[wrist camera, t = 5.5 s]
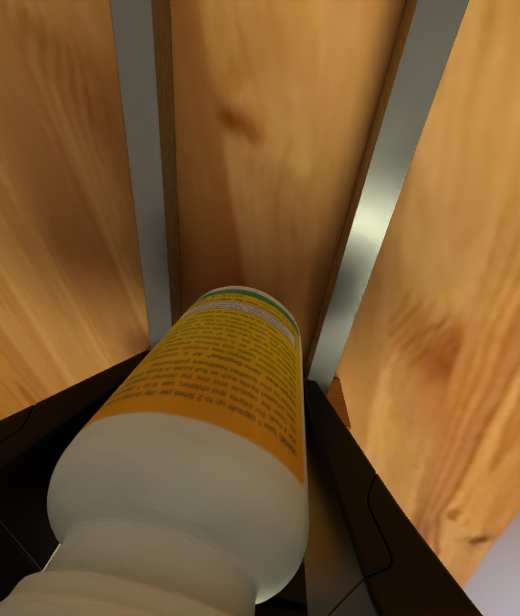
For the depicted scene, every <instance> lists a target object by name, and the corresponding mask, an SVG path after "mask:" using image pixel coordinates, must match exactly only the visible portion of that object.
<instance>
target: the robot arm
mask: <svg viewBox="0 0 520 616" xmlns="http://www.w3.org/2000/svg"><path fill="white" fill-rule="evenodd" d="M150 352H151V350H146V351H144V352H142V353H140V354H138V355H136V356H133V357H131V358H129V359H127V360H125V361H123V362H121V363H119V364H117V365H115V366H113V367H111V368H109V369H107V370H104V371H102V372H100V373H98V374H96V375H94V376H92V377H90V378H88V379H86V380H84V381H82V382H80V383H78V384H75V385H73V386H71V387H69V388H67V389H65V390H63V391H61V392H59V393H57V394H55V395H53V396H51V397H49V398H46V399H44V400H42V401H40V402H38V403H36V405H32V406H30V407H28V408H26V409H24V410H21V411H19V412H17V413H15V414H13V415H11V416H9V417H7V418H4V419H2V420H0V602H1V601H3V600H4V599H5V598H6V597H7V596H9V594H10V593H11V592H12V590H13V589H14V588H15V587H16V585H17V584H18V583H19V581H21V580H22V579H23V578H24V577H26V576H28V575H31V574H34V573H38V572H41V571H42V570H43V569H44V567H45V565H46V564H47V562H48V561H49V559H50V558H51V556H52V554H53V552H54V551H55V550H56V548H57V546H58V545H59V541H58V540H57V539H56V537H55V535H54V532H53V530H52V528H51V525H50V522H49V518H48V512H47V495H48V489H49V484H50V480H51V477H52V474H53V472H54V469H55V467H56V464H57V463H58V461H59V459H60V457H61V456H62V454H63V453H64V451H65V450H66V448H67V447H68V446H69V445H70V443H71V442H72V441H73V439H74V438H75V437H76V435H77V434H78V433H79V432H80V431H81V429H82V428H83V427H84V426H85V425H86V424H87V423H88V422H89V421H90V419H91V418H92V417H93V416H94V415H95V414H96V413H97V412H98V411H99V410H100V408H101V407H102V406H103V405H104V404H105V403H106V402H107V400H108V399H109V398H110V397H111V396H112V394H113V393H114V392H115V391H116V390H117V389H118V388H119V386H120V385H121V384H122V383H123V382H124V381H125V380H126V379H127V377H128V376H129V375H130V374H131V373H132V372H133V371H134V369H135V368H136V367H137V366H138V365H139V364H140V363H141V362H142V360H143V359H144V358H145V357H146V356H147V355H148V354H149V353H150ZM303 391H304V416H305V433H306V456H307V475H308V493H309V517H310V526H309V536H308V542H307V547H306V551H305V554H304V557H303V560H302V562H301V564H300V566H299V568H298V570H297V572H296V573H295V575H294V576H293V578H292V579H291V580H290V581H289V583H288V584H287V585H286V586H285V587H284V588H283V589H282V590H281V591H279V592H278V593H277V594H276V595H274V596H273V597H271V598H269V599H268V600H266V601H264V602H262V603H259V604H256V605H255V614H254V616H483V615H482V614H481V613H480V611H479V610H478V609H477V608H476V606H475V605H474V604H473V603H472V601H471V600H470V599H469V598H468V596H467V595H466V594H465V592H464V591H463V590H462V588H461V587H460V586H459V585H458V583H457V582H456V581H455V579H454V578H453V577H452V575H451V574H450V573H449V571H448V570H447V569H446V568H445V566H444V565H443V564H442V562H441V561H440V560H439V558H438V557H437V556H436V555H435V553H434V552H433V551H432V549H431V548H430V547H429V545H428V544H427V543H426V542H425V540H424V539H423V538H422V536H421V535H420V534H419V532H418V531H417V530H416V528H415V527H414V526H413V524H412V523H411V522H410V520H409V519H408V517H407V516H406V515H405V513H404V512H403V511H402V509H401V508H400V507H399V505H398V504H397V502H396V501H395V499H394V498H393V496H392V495H391V493H390V492H389V491H388V489H387V488H386V486H385V485H384V483H383V482H382V480H381V478H380V477H379V475H378V474H375V473H376V471H375V470H374V468H373V467H372V465H371V463H370V462H369V460H368V459H367V457H366V456H365V454H364V453H363V451H362V450H361V448H360V447H359V445H358V444H357V442H356V441H355V439H354V438H353V436H352V435H351V433H350V432H349V430H348V429H347V427H346V426H345V424H344V422H343V421H342V419H341V418H340V416H339V415H338V413H337V412H336V410H335V409H334V407H333V406H332V404H331V403H330V401H329V400H328V398H327V397H326V395H325V394H324V392H323V391H322V389H321V388H320V386H319V384H318V383H317V382H316V381H315V380H311V379H304V381H303Z"/></svg>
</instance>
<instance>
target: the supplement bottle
mask: <svg viewBox="0 0 520 616" xmlns="http://www.w3.org/2000/svg"><path fill="white" fill-rule="evenodd" d="M47 512H48V518H49V522H50V525H51V528H52V530H53V532H54V535H55V537H56V539H57V540H58V541H59V543H60V544H61V545H60V547H59V549H58V550H57V552H56V553H55V555H54V556H53V558H52V560H51V561H50V563H49V564H48V566H47V567H46V569H45V570H44V571H43V572H38V573H34V574H31V575H28V576H26V577H24V578H23V579H22V580H21V581H19V583H18V584H17V585H16V587H15V588H14V589H13V590H12V592H11V593H10V594H9V596H7V597H6V598H5V599H4V600H3V601H1V602H0V616H254V614H255V605H256V604H259V603H262V602H264V601H266V600H268V599H269V598H271V597H273V596H274V595H276V594H277V593H278V592H279V591H281V590H282V589H283V588H284V587H285V586H286V585H287V584H288V583H289V581H290V580H291V579H292V578H293V576H294V575H295V573H296V572H297V570H298V568H299V566H300V564H301V562H302V560H303V557H304V554H305V551H306V547H307V542H308V536H309V526H310V517H309V493H308V475H307V456H306V433H305V416H304V391H303V368H302V346H301V336H300V331H299V328H298V326H297V323H296V321H295V319H294V317H293V316H292V314H291V313H290V312H289V311H288V310H287V309H286V308H285V307H284V306H283V305H282V304H281V303H280V302H279V301H277V300H276V299H275V298H273V297H272V296H270V295H268V294H266V293H265V292H263V291H260V290H257V289H254V288H250V287H244V286H227V287H221V288H217V289H214V290H212V291H210V292H208V293H206V294H204V295H203V296H202V297H200V298H199V299H198V300H197V301H196V302H195V303H194V304H193V305H192V306H191V307H190V308H189V309H188V310H187V311H186V312H185V313H184V314H183V316H182V317H181V318H180V319H179V320H178V321H177V322H176V324H175V325H174V326H173V327H172V328H171V329H170V330H169V331H168V333H167V334H166V335H165V336H164V337H163V338H162V339H161V341H160V342H159V343H158V344H157V345H156V346H155V347H154V348H153V349H152V351H151V352H150V353H149V354H148V355H147V356H146V357H145V358H144V359H143V360H142V362H141V363H140V364H139V365H138V366H137V367H136V368H135V369H134V371H133V372H132V373H131V374H130V375H129V376H128V377H127V379H126V380H125V381H124V382H123V383H122V384H121V385H120V386H119V388H118V389H117V390H116V391H115V392H114V393H113V394H112V396H111V397H110V398H109V399H108V400H107V402H106V403H105V404H104V405H103V406H102V407H101V408H100V410H99V411H98V412H97V413H96V414H95V415H94V416H93V417H92V418H91V419H90V421H89V422H88V423H87V424H86V425H85V426H84V427H83V428H82V429H81V431H80V432H79V433H78V434H77V435H76V437H75V438H74V439H73V441H72V442H71V443H70V445H69V446H68V447H67V448H66V450H65V451H64V453H63V454H62V456H61V457H60V459H59V461H58V463H57V464H56V467H55V469H54V472H53V474H52V477H51V480H50V484H49V489H48V495H47Z"/></svg>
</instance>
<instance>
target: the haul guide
mask: <svg viewBox="0 0 520 616" xmlns="http://www.w3.org/2000/svg"><path fill="white" fill-rule="evenodd" d="M468 2H469V0H407V2H406V6H405V9H404V13H403V16H402V20H401V24H400V27H399V31H398V34H397V38H396V42H395V45H394V49H393V52H392V56H391V60H390V63H389V67H388V71H387V74H386V78H385V81H384V85H383V89H382V92H381V96H380V99H379V103H378V107H377V110H376V114H375V117H374V121H373V125H372V128H371V132H370V135H369V139H368V143H367V146H366V150H365V154H364V157H363V161H362V164H361V168H360V172H359V175H358V179H357V182H356V186H355V190H354V193H353V197H352V200H351V204H350V208H349V211H348V215H347V218H346V222H345V226H344V229H343V233H342V237H341V240H340V244H339V247H338V251H337V255H336V258H335V262H334V265H333V269H332V273H331V276H330V280H329V283H328V287H327V291H326V294H325V298H324V301H323V305H322V309H321V312H320V316H319V320H318V323H317V327H316V330H315V334H314V338H313V341H312V345H311V348H310V352H309V356H308V359H307V363H306V366H305V370H304V373H303V381H304V379H311V380H315V381H316V382H317V383H318V384H319V386H320V388H321V389H322V391H323V392H324V394H325V395H326V397H327V398H328V400H329V401H330V403H331V404H332V406H333V407H334V409H335V410H336V412H337V413H338V415H339V416H340V418H341V419H342V421H343V422H344V424H345V426H346V427H347V429H348V430H350V428H351V425H350V421H349V417H348V413H347V409H346V404H345V400H344V396H343V392H342V388H341V383H340V379H337V378H333V377H334V375H335V372H336V369H337V366H338V363H339V361H340V358H341V355H342V352H343V350H344V347H345V344H346V341H347V338H348V336H349V333H350V330H351V327H352V325H353V322H354V319H355V316H356V313H357V311H358V308H359V305H360V302H361V300H362V297H363V294H364V291H365V288H366V286H367V283H368V280H369V277H370V275H371V272H372V269H373V266H374V263H375V261H376V258H377V255H378V252H379V250H380V247H381V244H382V241H383V238H384V236H385V233H386V230H387V227H388V225H389V222H390V219H391V216H392V213H393V211H394V208H395V205H396V202H397V200H398V197H399V194H400V191H401V188H402V186H403V183H404V180H405V177H406V175H407V172H408V169H409V166H410V163H411V161H412V158H413V155H414V152H415V150H416V147H417V144H418V141H419V138H420V136H421V133H422V130H423V127H424V125H425V122H426V119H427V116H428V113H429V111H430V108H431V105H432V102H433V100H434V97H435V94H436V91H437V88H438V86H439V83H440V80H441V77H442V75H443V72H444V69H445V66H446V63H447V61H448V58H449V55H450V52H451V50H452V47H453V44H454V41H455V38H456V36H457V33H458V30H459V27H460V25H461V22H462V19H463V16H464V13H465V11H466V8H467V5H468ZM110 6H111V14H112V22H113V31H114V39H115V48H116V56H117V65H118V73H119V81H120V90H121V98H122V107H123V115H124V124H125V132H126V140H127V149H128V157H129V166H130V174H131V183H132V191H133V199H134V208H135V216H136V225H137V233H138V242H139V250H140V258H141V267H142V275H143V284H144V292H145V301H146V309H147V317H148V326H149V334H150V343H151V345H150V346H149V347H148V348H147V349H146V350H151V351H152V349H153V348H154V347H155V346H156V345H157V344H158V343H159V342H160V341H161V339H162V338H163V337H164V336H165V335H166V334H167V333H168V331H169V330H170V329H171V328H172V327H173V326H174V325H175V324H176V322H177V321H178V320H179V319H180V318H181V317H182V301H181V276H180V250H179V224H178V198H177V173H176V147H175V121H174V95H173V69H172V44H171V18H170V0H110ZM146 350H145V351H146Z"/></svg>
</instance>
